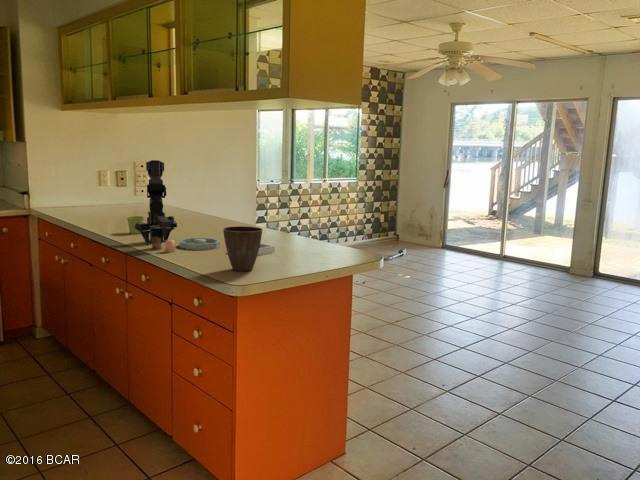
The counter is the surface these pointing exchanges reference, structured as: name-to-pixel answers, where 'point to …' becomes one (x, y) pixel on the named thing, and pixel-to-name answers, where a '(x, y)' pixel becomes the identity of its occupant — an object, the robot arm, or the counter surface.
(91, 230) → the counter surface
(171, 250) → the brown egg
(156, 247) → the brown rounded short cylinder
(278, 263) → the counter surface
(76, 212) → the counter surface
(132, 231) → the plant pot
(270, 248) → the mug coaster frame
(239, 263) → the plant pot
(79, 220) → the counter surface
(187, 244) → the groove tray
